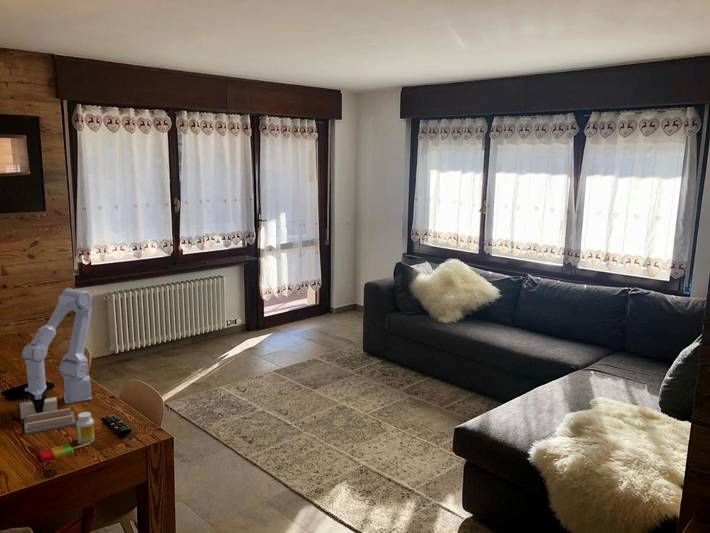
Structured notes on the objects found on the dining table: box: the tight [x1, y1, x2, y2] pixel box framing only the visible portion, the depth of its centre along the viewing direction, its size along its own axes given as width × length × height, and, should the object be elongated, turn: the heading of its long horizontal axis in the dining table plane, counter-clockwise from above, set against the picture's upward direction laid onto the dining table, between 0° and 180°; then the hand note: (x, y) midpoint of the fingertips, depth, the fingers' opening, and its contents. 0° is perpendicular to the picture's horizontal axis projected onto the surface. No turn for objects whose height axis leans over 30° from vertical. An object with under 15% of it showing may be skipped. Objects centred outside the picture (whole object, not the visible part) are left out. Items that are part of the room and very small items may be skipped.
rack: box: [23, 407, 77, 435], centre depth 210 cm, size 16×10×3 cm, turn 120°
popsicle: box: [39, 443, 91, 463], centre depth 192 cm, size 6×15×2 cm, turn 131°
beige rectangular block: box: [19, 396, 59, 420], centre depth 217 cm, size 12×4×5 cm, turn 120°
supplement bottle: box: [75, 411, 96, 445], centre depth 199 cm, size 5×5×10 cm
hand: (39, 410), depth 217 cm, fingers closed on beige rectangular block, 3 cm apart
